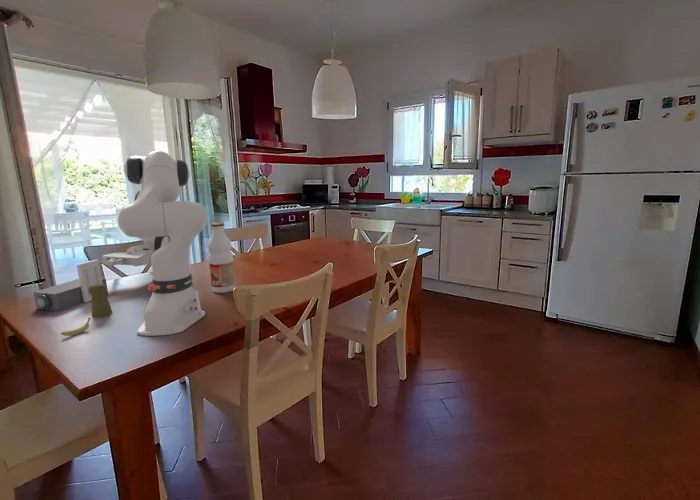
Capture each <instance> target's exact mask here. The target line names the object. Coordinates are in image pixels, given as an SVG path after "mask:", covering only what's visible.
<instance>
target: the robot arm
mask: <svg viewBox="0 0 700 500" xmlns="http://www.w3.org/2000/svg"><path fill="white" fill-rule="evenodd" d="M123 169H124V170H123V171H124V175H125V177H126V178H127V181H128V182H130V183H131V184H134V185H140V187H141V189H140V190H138V191H137V192H136V194H135V197H134V199H133V200H134V201H132V202H131V203H129V204H127V205H125V206H123V207H122V208H121V210H119V213H118V217H117V223H118V227H119V229H120V231H121V232H122V233H123V234H124V235H126V236H127V237H129V238H130V237H131V238H137V239H139V240H141V241H143V242H144V243H143V244H139V245H134V246H130V247H128V248H127V250H126V252H113V253H112V252H111V253H108V254H104V255H102V256H101V261H102V264H103V265H106V266H120V265H121V266H133V267H140V266H145V265H146V266H149V265H151V269H152V276H153V279H152V282H151V284H148V286H147V287H148V289H147V290H148V291H149V292H152V294H151V295H150V298H149V300H148V303H147V305H146V308H145V310H144V312H143V317H144V318H143V319H144V321H143V322H142V323H141V325H140V326H139V327H138V329H137V330H136V332H137V333H136V334H137V335H139V336H145V337H146V336H148V337H149V336H153V337H154V336H167V335H169V336H170V335H174V334H180V333H182V332H185V330H187V329H188V328H190V327H191V326H192V325H194V324H195V323H196V322H198V321H199V320H200V319H202V318H203V317H205V315H206V311H205V310H202V307H201V302H200V297H199V292H198V291H197V290H196V289H195V288H194V286H193V284H194V283H193V277H192V274H191V272H190V271H191V269H190V249H191V245H192V243H193V241H194V240H195V238H196V237H197V236H198V234H200V233H201V232H202V231H203V230H204V229H205V228H206V226H207V223H208V213H207V211H206V209H205V207H204V206H203V205H202V204H201V203H200V202H195V201H185V200H177V199H178V198H179V196H180V192H181V190H180V187H184V186H186V185H187V184H188V181H189V180H190V177H191V176H190V174H191V173H190V169H189V166H188V164H187V163H186V162H185V161H184V160H181V159H173V158H172V156H171V155H170V154H168V153H167V152H165V151H162V150H161V151H160V150H154V151H151V152H149V153H148V154H146V156H144V155H142V156H139V155H131V156H128V158H127V159H126V161H125V162H124V166H123Z"/></svg>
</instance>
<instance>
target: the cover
mask: <svg viewBox="0 0 700 500" xmlns="http://www.w3.org/2000/svg"><path fill="white" fill-rule="evenodd" d="M76 269H77V274H78V279H79V280H80V286H81V291H82V296H83V303H89V302H92V295H91V294H90V293H89V287H90V286H91V285H94V284H103V283H102V278H103V277H102V273H101V267H100V261H99V259H94V260H90V261H85V262H82V263H77V264H76Z"/></svg>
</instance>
